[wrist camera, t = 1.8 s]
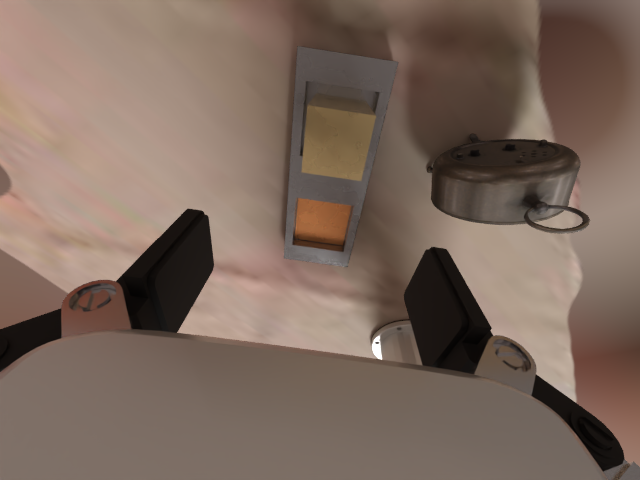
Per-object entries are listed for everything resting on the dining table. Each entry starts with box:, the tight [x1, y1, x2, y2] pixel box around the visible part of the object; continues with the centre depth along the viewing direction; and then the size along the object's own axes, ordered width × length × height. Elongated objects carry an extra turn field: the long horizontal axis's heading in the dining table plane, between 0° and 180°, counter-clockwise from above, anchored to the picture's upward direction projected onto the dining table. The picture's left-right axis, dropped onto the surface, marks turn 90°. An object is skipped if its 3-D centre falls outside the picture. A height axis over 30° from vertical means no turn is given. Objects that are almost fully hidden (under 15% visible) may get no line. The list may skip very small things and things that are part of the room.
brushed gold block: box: [301, 93, 376, 181], centre depth 24 cm, size 5×5×9 cm
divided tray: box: [284, 46, 398, 267], centre depth 31 cm, size 9×24×2 cm, turn 173°
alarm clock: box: [427, 134, 590, 234], centre depth 23 cm, size 11×5×16 cm, turn 100°
